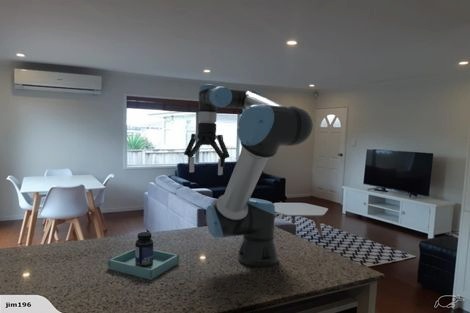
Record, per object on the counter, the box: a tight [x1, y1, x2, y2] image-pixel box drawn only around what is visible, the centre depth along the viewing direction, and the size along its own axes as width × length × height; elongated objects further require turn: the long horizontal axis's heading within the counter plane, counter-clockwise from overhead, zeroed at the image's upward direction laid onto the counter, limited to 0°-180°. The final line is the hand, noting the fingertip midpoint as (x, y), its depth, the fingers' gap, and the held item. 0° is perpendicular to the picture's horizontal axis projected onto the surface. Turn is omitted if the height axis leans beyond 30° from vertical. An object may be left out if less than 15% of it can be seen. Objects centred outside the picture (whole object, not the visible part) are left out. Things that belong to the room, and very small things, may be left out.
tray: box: [107, 248, 180, 281], centre depth 122 cm, size 18×16×3 cm
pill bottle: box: [134, 231, 154, 267], centre depth 122 cm, size 6×6×11 cm
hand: (205, 173), depth 144 cm, fingers open, 13 cm apart
